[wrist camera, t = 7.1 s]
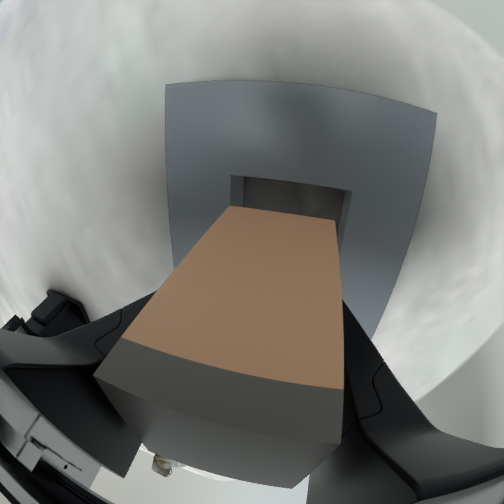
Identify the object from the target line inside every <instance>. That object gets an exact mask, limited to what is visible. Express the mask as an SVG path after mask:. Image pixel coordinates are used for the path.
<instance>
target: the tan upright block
mask: <svg viewBox="0 0 504 504" xmlns="http://www.w3.org/2000/svg"><path fill="white" fill-rule="evenodd" d="M93 376H94V378H95V379H96V381H97V383H98V384H99V386H100V387H101V389H102V390H103V392H104V393H105V395H106V396H107V398H108V399H109V401H110V402H111V403H112V405H113V406H114V408H115V409H116V410H117V412H118V413H119V414H120V416H121V417H122V418H123V420H124V421H125V422H126V424H127V425H128V426H129V427H130V429H131V430H132V431H133V432H134V434H135V435H136V436H137V437H138V438H139V440H140V441H141V442H142V443H143V444H144V446H145V447H146V448H147V449H148V450H149V451H151V452H153V453H156V454H158V455H161V456H163V457H166V458H168V459H171V460H174V461H176V462H179V463H182V464H185V465H188V466H191V467H194V468H197V469H200V470H204V471H207V472H210V473H214V474H218V475H221V476H225V477H229V478H233V479H238V480H243V481H247V482H252V483H258V484H263V485H269V486H276V487H283V488H291V489H292V488H293V487H295V486H296V485H297V484H298V483H300V482H301V481H302V480H303V479H304V478H305V477H307V476H308V475H309V474H310V473H311V472H312V471H313V470H314V469H315V468H317V467H318V466H319V465H320V464H321V463H322V462H323V461H324V460H325V459H326V458H327V457H328V456H329V455H330V454H331V453H332V452H333V451H334V450H335V449H336V448H337V447H338V446H339V445H340V444H341V435H342V419H343V394H344V335H343V309H342V291H341V277H340V265H339V254H338V244H337V235H336V226H335V221H334V220H328V219H322V218H316V217H309V216H303V215H296V214H289V213H282V212H275V211H268V210H260V209H253V208H245V207H237V206H229V207H228V208H227V209H226V210H225V211H224V213H223V214H222V215H221V216H220V217H219V218H218V219H217V220H216V222H215V223H214V224H213V225H212V226H211V227H210V228H209V230H208V231H207V232H206V233H205V234H204V235H203V236H202V238H201V239H200V240H199V241H198V242H197V243H196V245H195V246H194V247H193V248H192V249H191V250H190V252H189V253H188V254H187V255H186V256H185V258H184V259H183V260H182V261H181V262H180V263H179V265H178V266H177V267H176V268H175V269H174V271H173V272H172V273H171V274H170V276H169V277H168V278H167V279H166V280H165V282H164V283H163V284H162V285H161V287H160V288H159V289H158V290H157V292H156V293H155V294H154V295H153V296H152V298H151V299H150V300H149V301H148V303H147V304H146V305H145V307H144V308H143V309H142V310H141V312H140V313H139V314H138V315H137V317H136V318H135V319H134V321H133V322H132V323H131V324H130V326H129V327H128V328H127V330H126V331H125V332H124V334H123V335H122V336H121V338H120V339H119V340H118V342H117V343H116V344H115V346H114V347H113V348H112V350H111V351H110V352H109V354H108V355H107V356H106V358H105V359H104V360H103V362H102V363H101V365H100V366H99V367H98V369H97V370H96V371H95V373H94V374H93Z"/></svg>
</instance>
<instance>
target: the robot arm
mask: <svg viewBox="0 0 504 504" xmlns="http://www.w3.org/2000/svg"><path fill="white" fill-rule="evenodd" d="M156 292H157V291H155V292H153V293H151V294H149V295H147V296H145V297H143V298H141V299H139V300H137V301H135V302H133V303H131V304H129V305H127V306H125V307H123V308H122V309H119V310H117V311H115V312H113V313H111V314H109V315H107V316H104V317H102V318H100V319H98V320H95V321H93V322H91V323H89V320H88V318H87V316H86V313H85V311H84V308H83V306H82V304H81V303H80V302H78V301H75V300H73V299H70V298H68V297H66V296H63V295H61V294H59V293H56V292H54V291H52V290H50V289H49V290H48V291H47V292H46V293H47V295H48V297H47V298H46V299H45V300H44V301H43V302H42V303H41V304H40V305H39V306H38V307H36V308H35V309H34V310H33V311H32V313H31V316H32V317H31V318H30V319H29V320H28V321H27V322H26V323H25V321H24V319H23V318H21V319H20V318H19V317H18V316H16V315H14V316H13V317H12V318H11V319H10V320H9V321H8V322H7V323H6V324H5V325H4V326H3V327H2V328H1V329H0V492H1V493H2V494H3V495H4V496H5V497H6V498H7V499H8V500H9V501H10V502H11V503H12V504H114V503H112V502H110V501H109V500H107V499H105V498H103V497H102V496H100V495H98V494H97V493H95V492H93V491H92V490H90V487H91V485H92V483H93V481H94V479H95V477H96V475H97V474H98V472H99V470H100V468H101V466H102V467H104V468H106V469H108V470H109V471H111V472H113V473H115V474H116V475H118V476H120V477H122V478H124V477H125V476H126V474H127V472H128V470H129V467H130V466H131V463H132V462H133V460H134V457H135V455H136V453H137V451H138V449H139V447H140V445H141V443H142V442H141V441H140V440H139V438H138V437H137V436H136V435H135V434H134V432H133V431H132V430H131V429H130V427H129V426H128V425H127V424H126V422H125V421H124V420H123V418H122V417H121V416H120V414H119V413H118V412H117V410H116V409H115V408H114V406H113V405H112V403H111V402H110V401H109V399H108V398H107V396H106V395H105V393H104V392H103V390H102V389H101V387H100V386H99V384H98V383H97V381H96V379H95V378H94V376H93V374H94V373H95V371H96V370H97V369H98V367H99V366H100V365H101V363H102V362H103V360H104V359H105V358H106V356H107V355H108V354H109V352H110V351H111V350H112V348H113V347H114V346H115V344H116V343H117V342H118V340H119V339H120V338H121V336H122V335H123V334H124V332H125V331H126V330H127V328H128V327H129V326H130V324H131V323H132V322H133V321H134V319H135V318H136V317H137V315H138V314H139V313H140V312H141V310H142V309H143V308H144V307H145V305H146V304H147V303H148V301H149V300H150V299H151V298H152V296H153V295H154V294H155V293H156ZM342 309H343V335H344V394H343V419H342V435H341V444H340V445H339V446H338V447H337V448H336V449H335V450H334V451H333V452H332V453H331V454H330V455H329V456H328V457H327V458H326V459H325V460H324V461H323V462H322V463H321V464H320V465H319V466H318V467H317V468H315V469H314V470H313V471H312V472H311V473H310V476H309V485H308V495H307V502H306V504H504V448H493V447H489V446H485V445H482V444H478V443H475V442H472V441H468V440H465V439H462V438H459V437H456V436H453V435H450V434H447V433H444V432H442V431H440V430H438V429H437V428H436V427H434V426H433V425H432V424H431V423H430V422H429V420H428V419H427V418H426V417H425V415H424V414H423V413H422V411H421V410H420V409H419V408H418V406H417V405H416V404H415V403H414V401H413V400H412V399H411V398H410V396H409V395H408V394H407V392H406V391H405V390H404V388H403V387H402V386H401V384H400V383H399V382H398V380H397V379H396V377H395V376H394V375H393V373H392V372H391V370H390V369H389V367H388V365H387V364H386V362H384V359H383V358H382V356H381V355H380V353H379V352H378V350H377V349H376V347H375V346H374V344H373V343H372V341H371V340H370V338H369V337H368V335H367V334H366V332H365V331H364V329H363V328H362V326H361V325H360V323H359V322H358V320H357V319H356V318H355V316H354V315H353V313H352V312H351V310H350V309H349V307H348V306H347V305H346V303H345V302H344V300H343V299H342ZM15 331H16V332H17V333H16V332H15Z"/></svg>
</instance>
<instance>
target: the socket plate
mask: <svg viewBox="0 0 504 504" xmlns="http://www.w3.org/2000/svg"><path fill="white" fill-rule="evenodd" d="M436 117H437V113H435V112H432V111H429V110H426V109H423V108H420V107H417V106H413V105H410V104H406V103H403V102H399V101H396V100H392V99H388V98H384V97H379V96H375V95H371V94H366V93H361V92H356V91H350V90H345V89H339V88H333V87H326V86H318V85H310V84H301V83H289V82H275V81H248V80H228V81H201V82H187V83H176V84H166V90H165V148H166V175H167V194H168V208H169V221H170V232H171V242H172V252H173V261H174V269H175V268H176V267H177V266H178V265H179V263H180V262H181V261H182V260H183V259H184V258H185V256H186V255H187V254H188V253H189V252H190V250H191V249H192V248H193V247H194V246H195V245H196V243H197V242H198V241H199V240H200V239H201V238H202V236H203V235H204V234H205V233H206V232H207V231H208V230H209V228H210V227H211V226H212V225H213V224H214V223H215V222H216V220H217V219H218V218H219V217H220V216H221V215H222V214H223V213H224V211H225V210H226V209H227V208H228V207H229V206H237V207H243V193H244V176H248V177H257V178H266V179H275V180H283V181H290V182H298V183H305V184H312V185H318V186H325V187H331V188H337V189H343V190H345V194H344V200H343V206H342V211H341V217H340V222H339V227H338V232H337V244H338V254H339V265H340V277H341V291H342V299H343V300H344V302H345V303H346V305H347V306H348V307H349V309H350V310H351V312H352V313H353V315H354V316H355V318H356V319H357V320H358V322H359V323H360V325H361V326H362V328H363V329H364V331H365V332H366V334H367V335H368V337H369V338H370V340H371V339H372V337H373V335H374V333H375V330H376V328H377V326H378V324H379V322H380V319H381V317H382V315H383V313H384V310H385V308H386V305H387V303H388V301H389V298H390V296H391V293H392V291H393V288H394V286H395V283H396V280H397V278H398V275H399V272H400V270H401V267H402V264H403V261H404V258H405V255H406V252H407V249H408V246H409V243H410V240H411V236H412V233H413V230H414V226H415V223H416V219H417V216H418V212H419V208H420V204H421V200H422V196H423V192H424V188H425V183H426V179H427V174H428V169H429V164H430V158H431V153H432V147H433V140H434V133H435V126H436Z"/></svg>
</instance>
